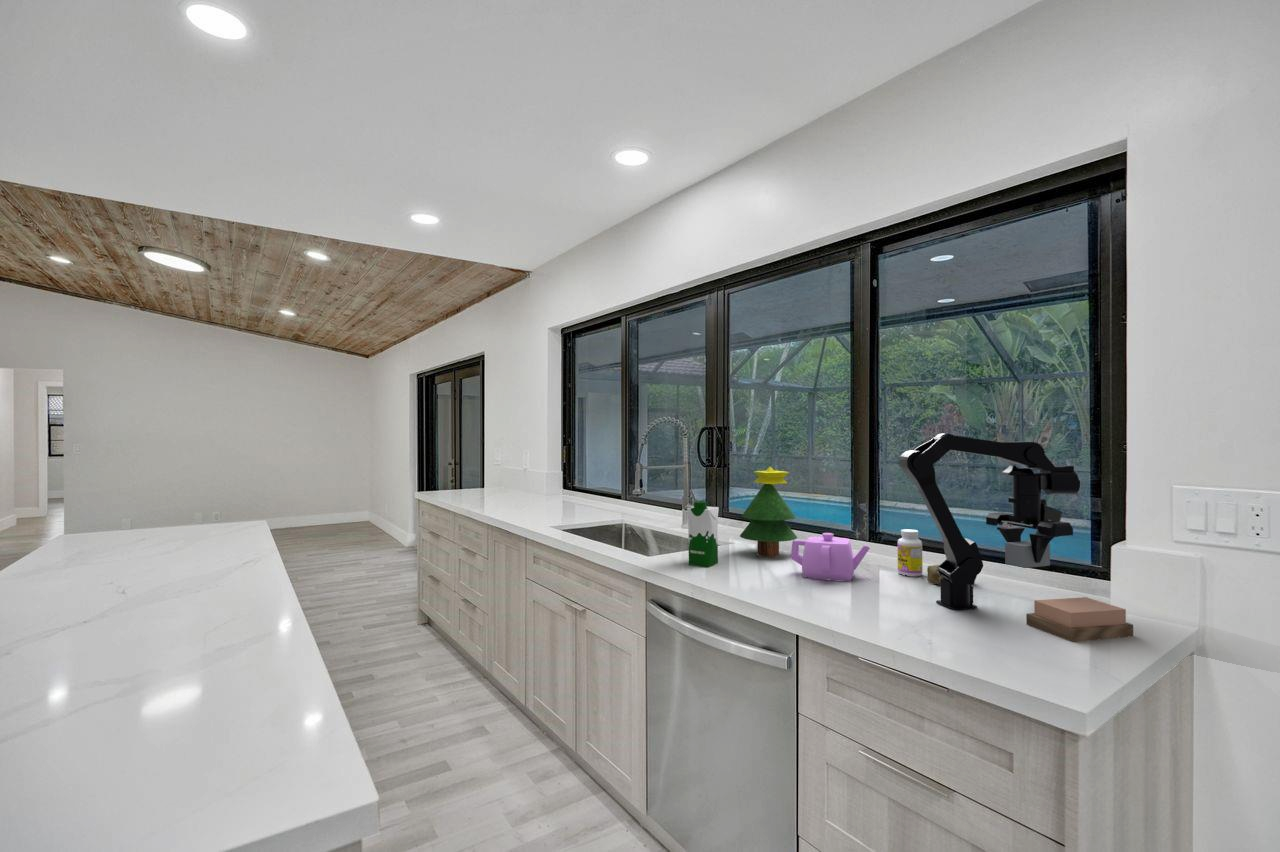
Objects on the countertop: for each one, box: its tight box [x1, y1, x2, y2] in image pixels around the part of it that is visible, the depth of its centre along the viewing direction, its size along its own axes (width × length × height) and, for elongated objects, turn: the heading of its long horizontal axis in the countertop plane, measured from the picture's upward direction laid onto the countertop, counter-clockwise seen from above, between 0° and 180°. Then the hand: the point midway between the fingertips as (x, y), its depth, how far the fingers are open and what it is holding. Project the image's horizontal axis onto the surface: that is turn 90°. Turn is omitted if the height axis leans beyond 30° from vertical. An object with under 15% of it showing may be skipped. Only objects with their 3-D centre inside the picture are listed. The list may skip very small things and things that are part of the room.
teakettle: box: [790, 532, 871, 582], centre depth 175 cm, size 17×17×12 cm
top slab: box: [1033, 596, 1127, 628], centre depth 126 cm, size 13×9×3 cm
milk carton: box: [686, 500, 720, 568], centre depth 191 cm, size 9×9×20 cm
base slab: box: [1025, 612, 1134, 643], centre depth 126 cm, size 15×11×3 cm
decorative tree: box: [739, 466, 798, 558], centre depth 204 cm, size 19×19×30 cm
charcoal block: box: [1004, 540, 1051, 569], centre depth 142 cm, size 8×5×5 cm, turn 108°
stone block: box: [927, 564, 944, 586], centre depth 165 cm, size 6×12×5 cm, turn 103°
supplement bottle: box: [897, 528, 923, 577], centre depth 175 cm, size 7×7×13 cm
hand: (1027, 560), depth 142 cm, fingers closed on charcoal block, 5 cm apart
